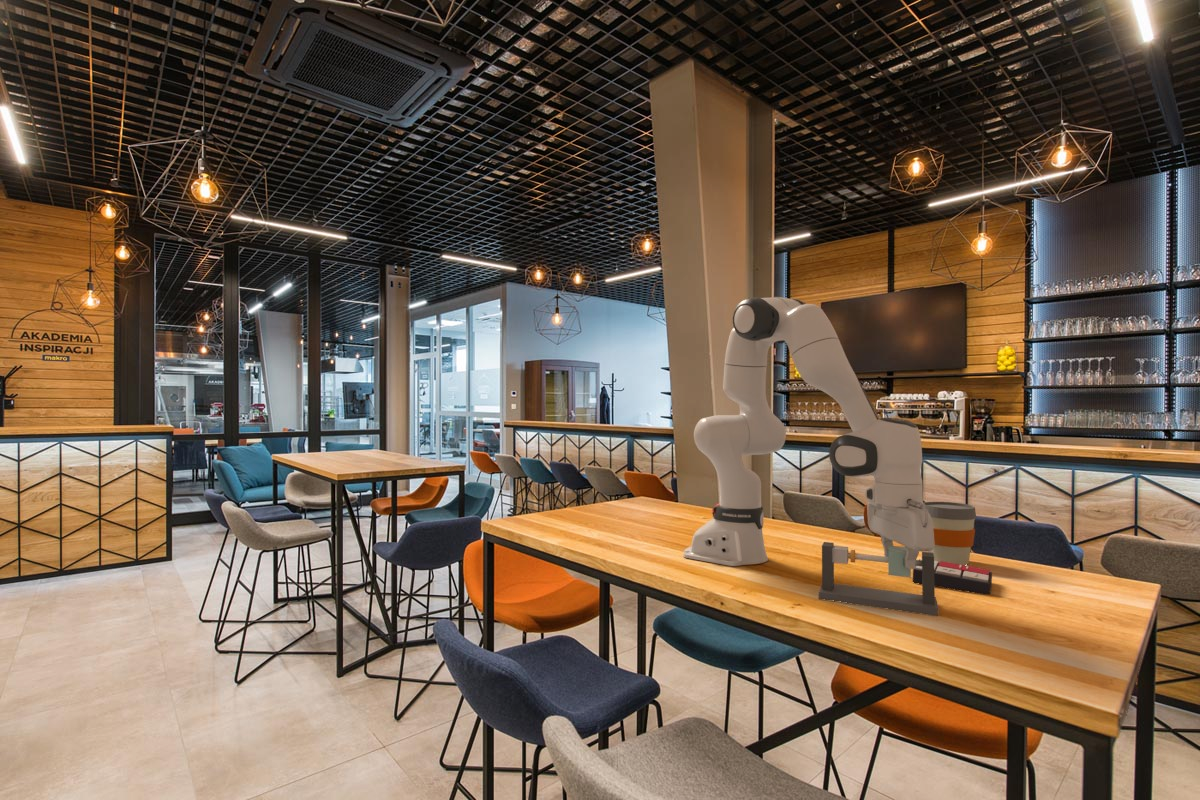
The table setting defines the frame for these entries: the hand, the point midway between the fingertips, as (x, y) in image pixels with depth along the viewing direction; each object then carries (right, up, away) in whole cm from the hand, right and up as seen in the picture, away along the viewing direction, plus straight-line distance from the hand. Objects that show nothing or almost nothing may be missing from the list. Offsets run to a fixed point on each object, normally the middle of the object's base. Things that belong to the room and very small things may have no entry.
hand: (899, 563), depth 119 cm
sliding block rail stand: (-4, -9, +2) cm, 10 cm away
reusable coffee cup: (+31, -9, +33) cm, 46 cm away
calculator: (+20, -10, +15) cm, 27 cm away
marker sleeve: (0, -2, 0) cm, 2 cm away
